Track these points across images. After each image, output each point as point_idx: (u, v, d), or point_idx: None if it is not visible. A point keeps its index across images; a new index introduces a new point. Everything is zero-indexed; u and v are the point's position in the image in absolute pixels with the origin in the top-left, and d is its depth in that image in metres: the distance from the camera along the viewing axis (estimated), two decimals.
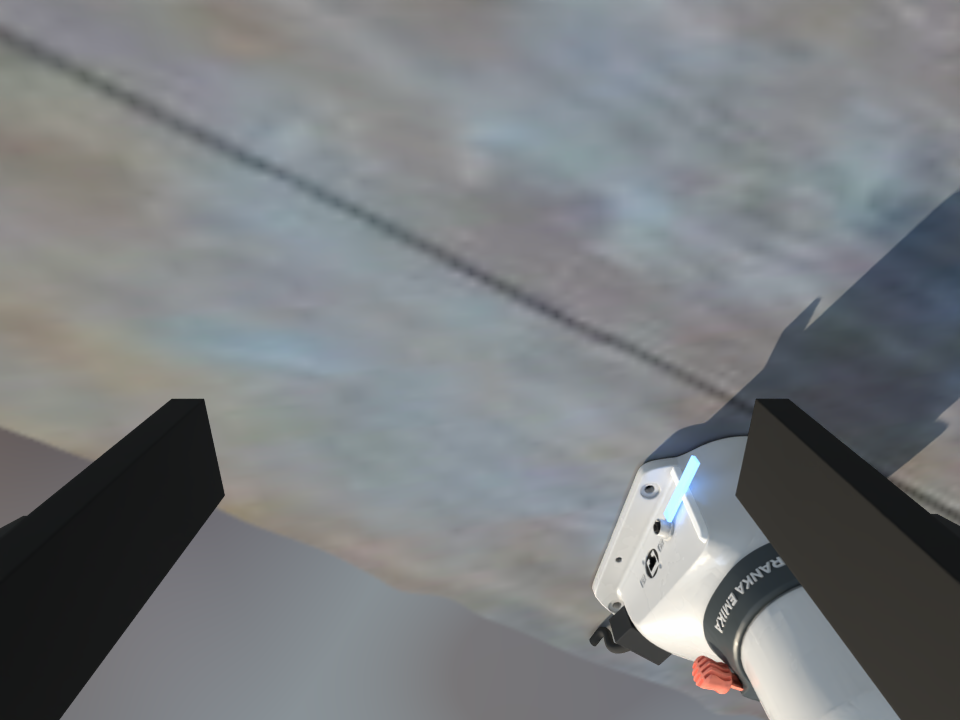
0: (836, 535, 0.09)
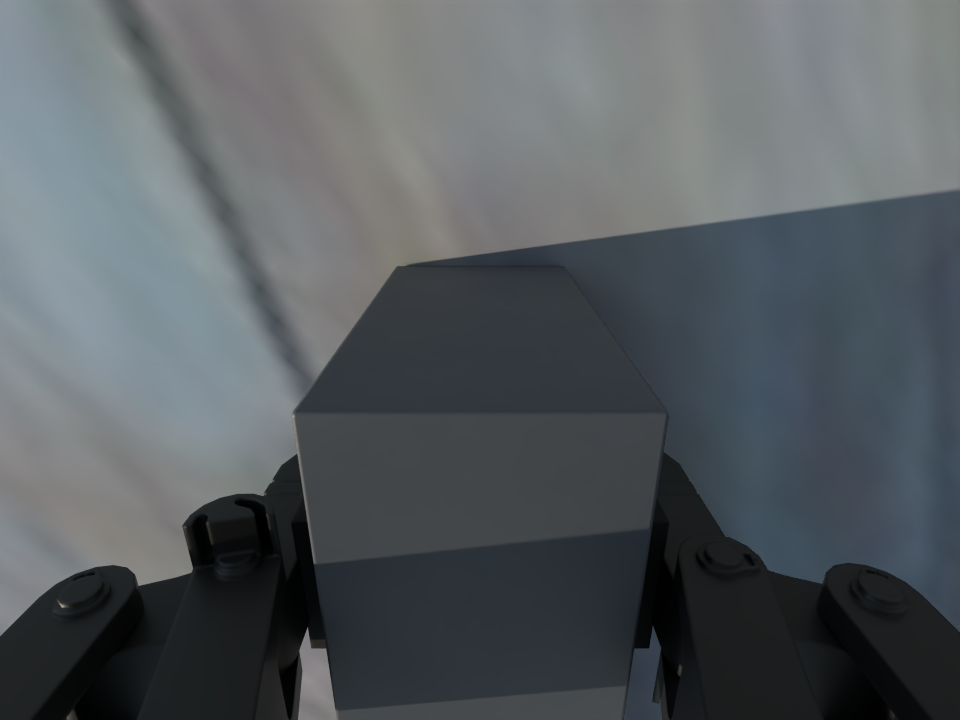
0: None
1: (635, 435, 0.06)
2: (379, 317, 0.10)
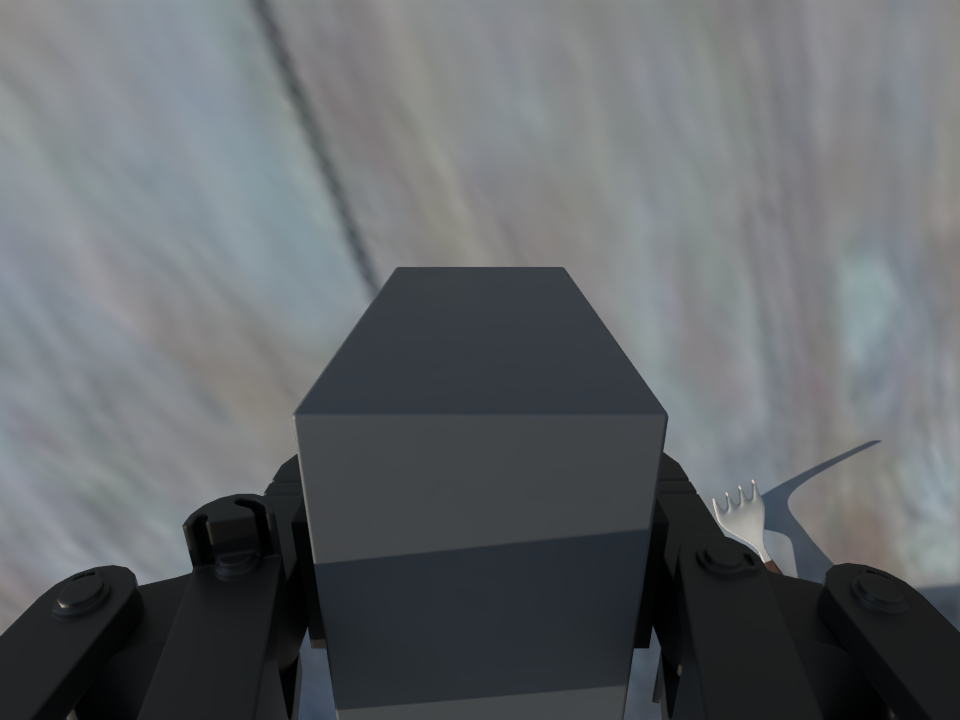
0: None
1: (635, 437, 0.06)
2: (379, 318, 0.10)
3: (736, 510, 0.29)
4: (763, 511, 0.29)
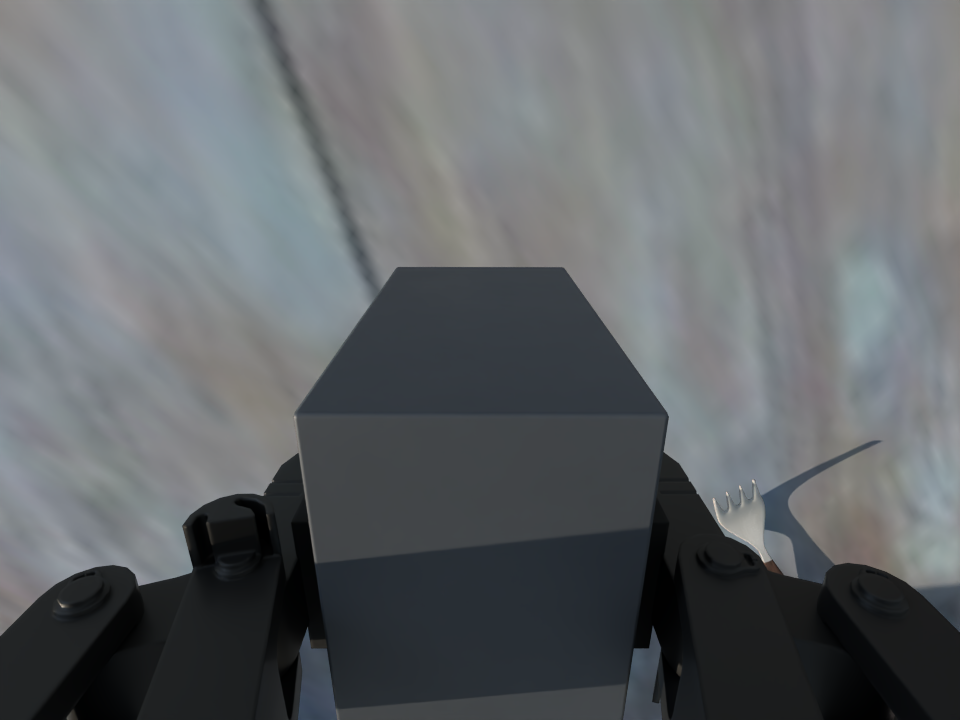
0: None
1: (635, 437, 0.06)
2: (380, 318, 0.10)
3: (736, 510, 0.29)
4: (763, 511, 0.29)
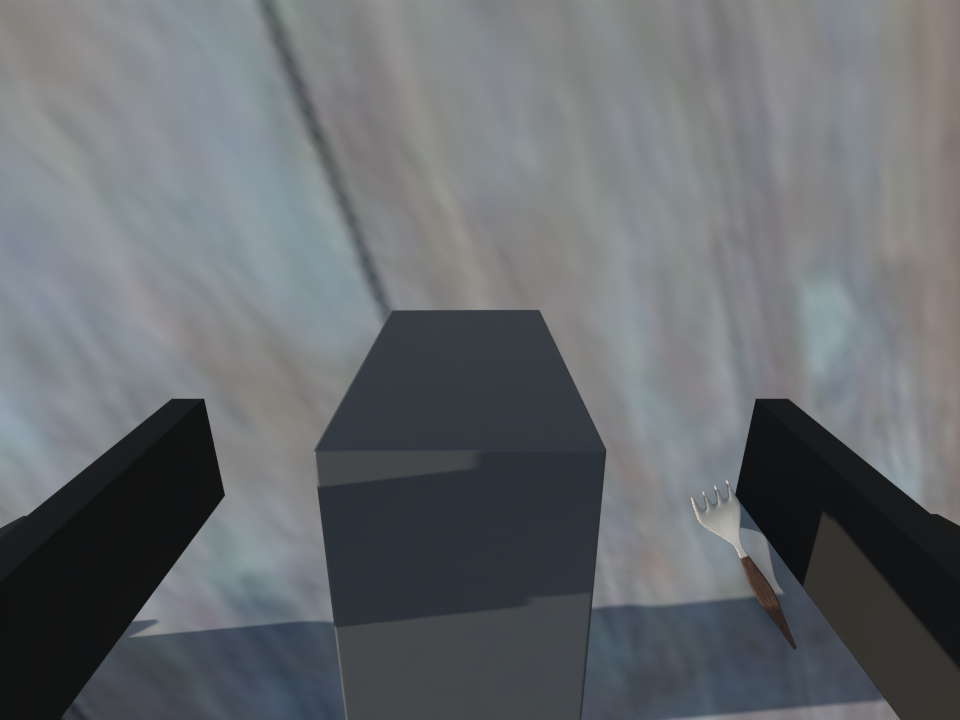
0: (836, 535, 0.10)
1: (580, 466, 0.08)
2: (378, 363, 0.11)
3: (714, 509, 0.31)
4: (739, 510, 0.32)
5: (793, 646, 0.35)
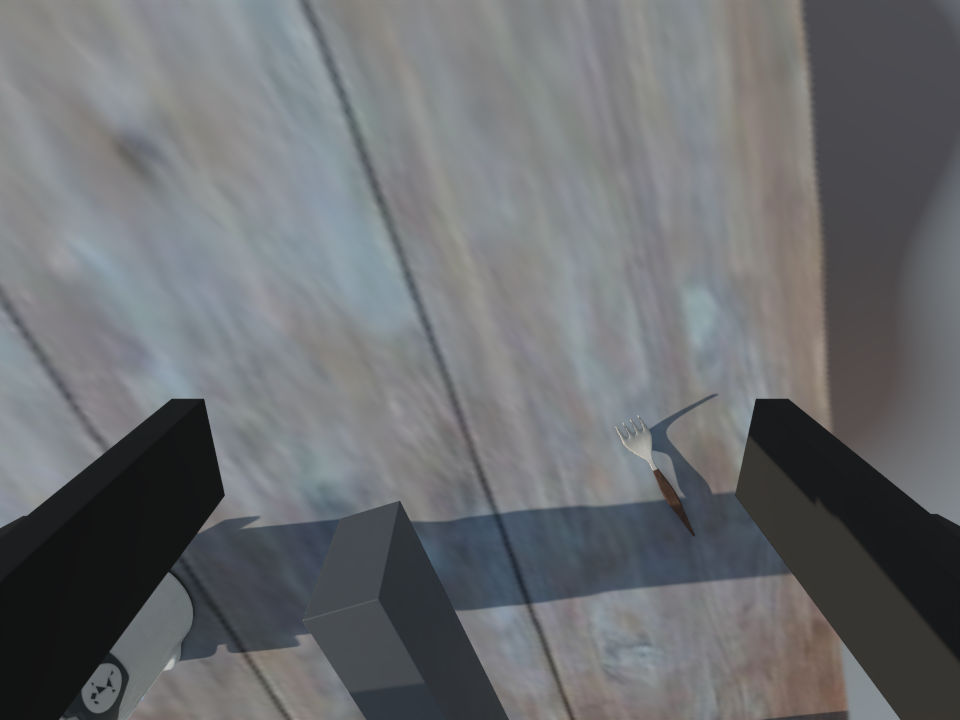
0: (836, 535, 0.09)
1: (374, 605, 0.27)
2: (326, 567, 0.31)
3: (633, 436, 0.48)
4: (650, 438, 0.48)
5: (692, 533, 0.52)
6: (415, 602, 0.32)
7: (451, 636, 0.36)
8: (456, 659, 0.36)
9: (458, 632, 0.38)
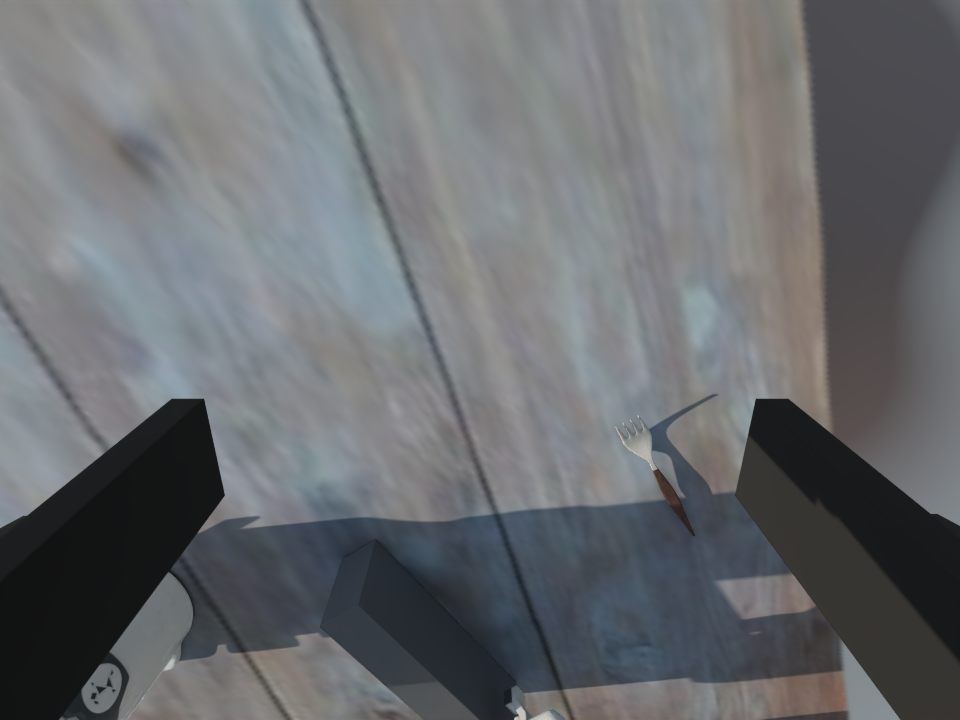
0: (836, 535, 0.09)
1: (356, 609, 0.45)
2: (333, 592, 0.49)
3: (633, 436, 0.48)
4: (650, 438, 0.48)
5: (692, 533, 0.52)
6: (394, 602, 0.50)
7: (433, 619, 0.53)
8: (439, 634, 0.53)
9: (442, 616, 0.55)
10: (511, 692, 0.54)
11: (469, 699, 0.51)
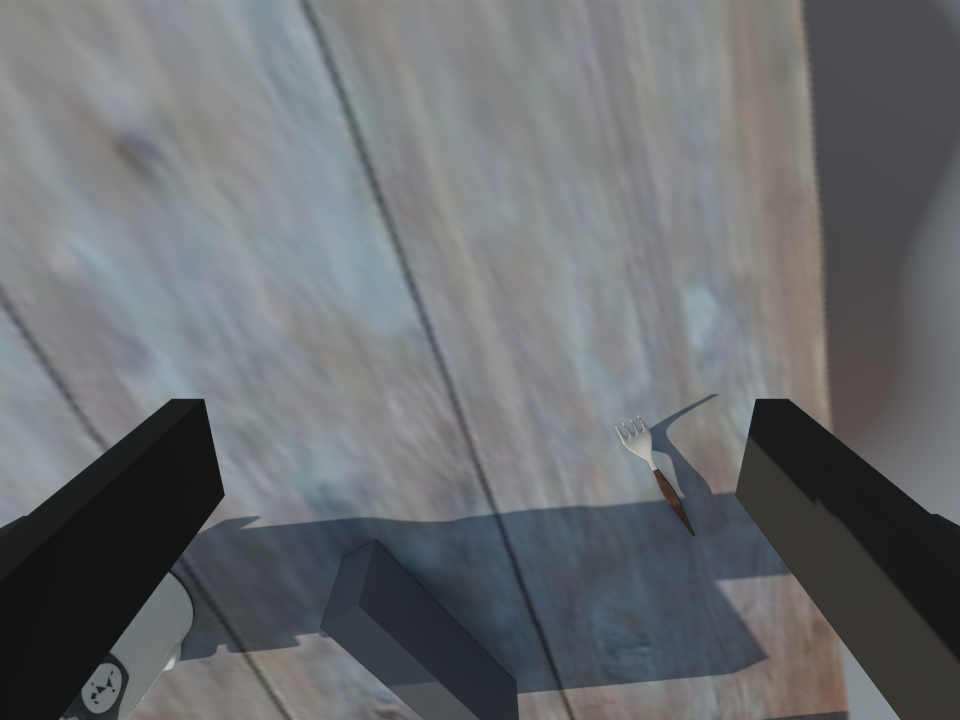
0: (836, 535, 0.09)
1: (356, 609, 0.45)
2: (333, 592, 0.49)
3: (633, 436, 0.48)
4: (650, 438, 0.48)
5: (692, 533, 0.52)
6: (394, 602, 0.50)
7: (433, 619, 0.53)
8: (439, 634, 0.53)
9: (442, 616, 0.55)
10: None
11: (469, 699, 0.51)
